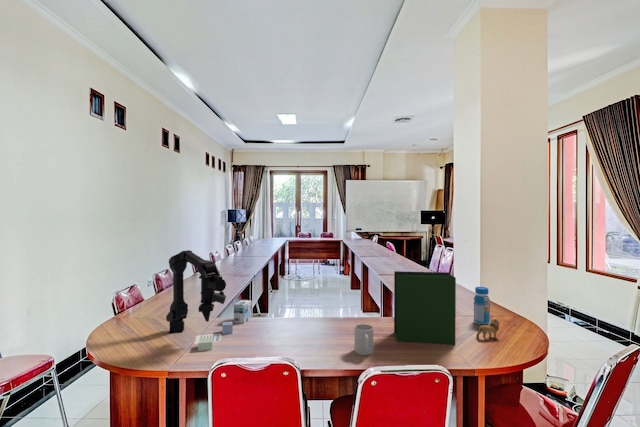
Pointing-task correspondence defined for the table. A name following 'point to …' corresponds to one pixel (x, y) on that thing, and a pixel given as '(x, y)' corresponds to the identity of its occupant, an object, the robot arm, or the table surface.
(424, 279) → the binder
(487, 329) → the lion figurine
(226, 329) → the slate-blue cube
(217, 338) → the letter
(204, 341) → the sage block
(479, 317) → the beverage bottle
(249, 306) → the light bulb box
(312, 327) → the table surface
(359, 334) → the mug
